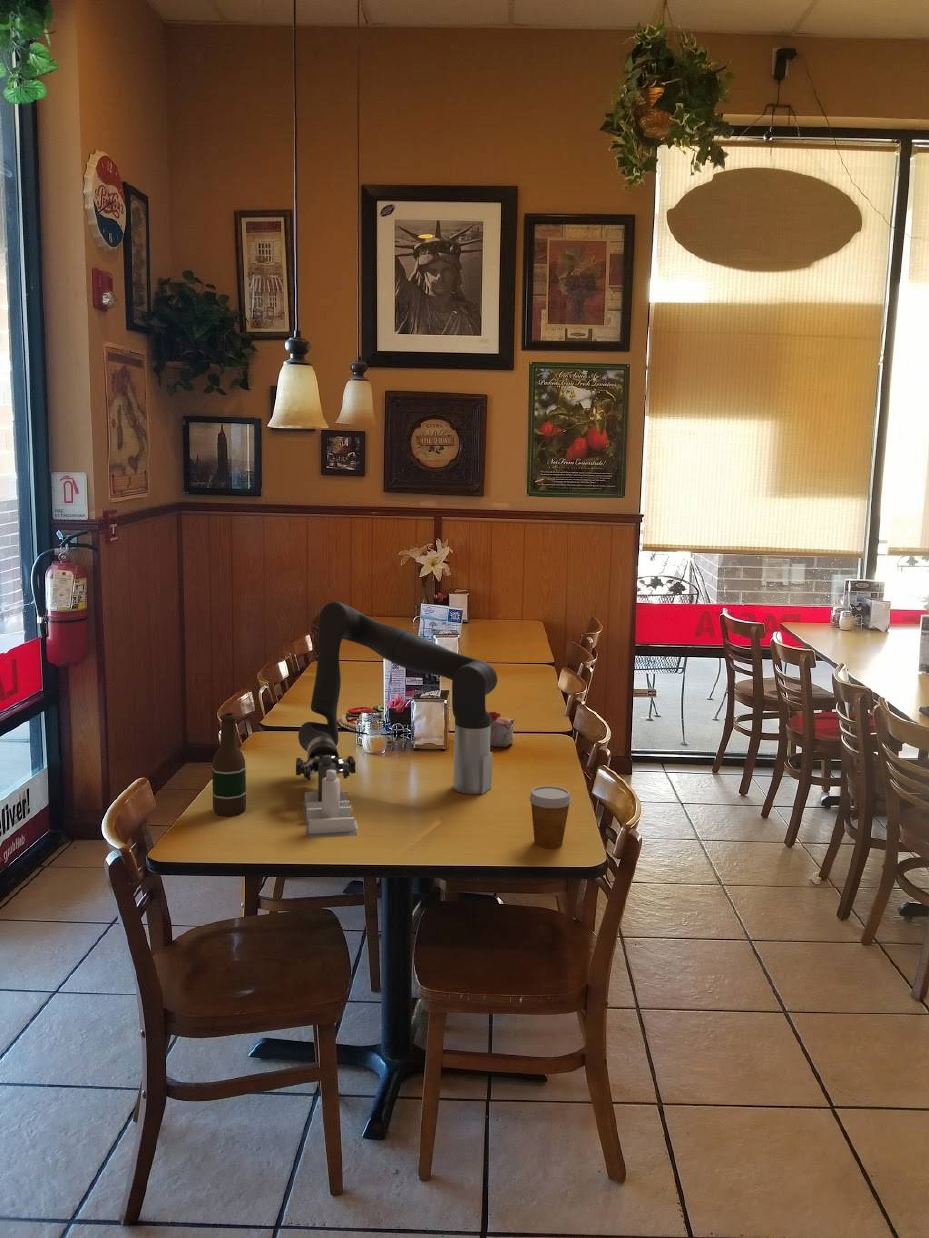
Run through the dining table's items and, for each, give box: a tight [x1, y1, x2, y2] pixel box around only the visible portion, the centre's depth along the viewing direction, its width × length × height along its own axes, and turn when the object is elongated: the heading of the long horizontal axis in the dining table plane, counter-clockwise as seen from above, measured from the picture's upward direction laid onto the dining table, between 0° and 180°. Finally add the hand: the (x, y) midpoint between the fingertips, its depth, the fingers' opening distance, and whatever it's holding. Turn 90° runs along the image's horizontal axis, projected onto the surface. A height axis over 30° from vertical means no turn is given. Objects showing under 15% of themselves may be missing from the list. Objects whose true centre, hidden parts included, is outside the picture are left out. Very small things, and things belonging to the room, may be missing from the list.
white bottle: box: [322, 770, 341, 819], centre depth 232 cm, size 4×4×13 cm
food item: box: [488, 711, 516, 748], centre depth 304 cm, size 14×8×10 cm, turn 71°
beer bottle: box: [211, 712, 247, 818], centre depth 242 cm, size 8×8×24 cm
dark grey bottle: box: [317, 755, 335, 802], centre depth 242 cm, size 4×4×13 cm
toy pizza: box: [337, 704, 384, 733], centre depth 325 cm, size 28×28×4 cm
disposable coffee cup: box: [528, 785, 573, 849], centre depth 229 cm, size 10×10×12 cm
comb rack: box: [301, 790, 359, 839], centre depth 238 cm, size 24×12×4 cm, turn 12°
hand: (327, 775), depth 240 cm, fingers open, 8 cm apart
